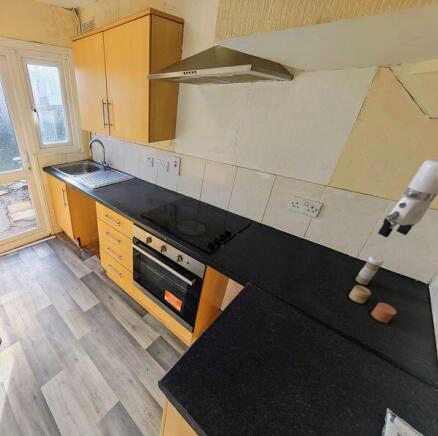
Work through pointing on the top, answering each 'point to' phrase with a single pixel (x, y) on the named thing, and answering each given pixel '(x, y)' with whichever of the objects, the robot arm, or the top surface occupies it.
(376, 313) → the orange-brown short cylinder
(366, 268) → the sprinkles bottle
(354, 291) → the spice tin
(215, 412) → the top surface
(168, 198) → the top surface
